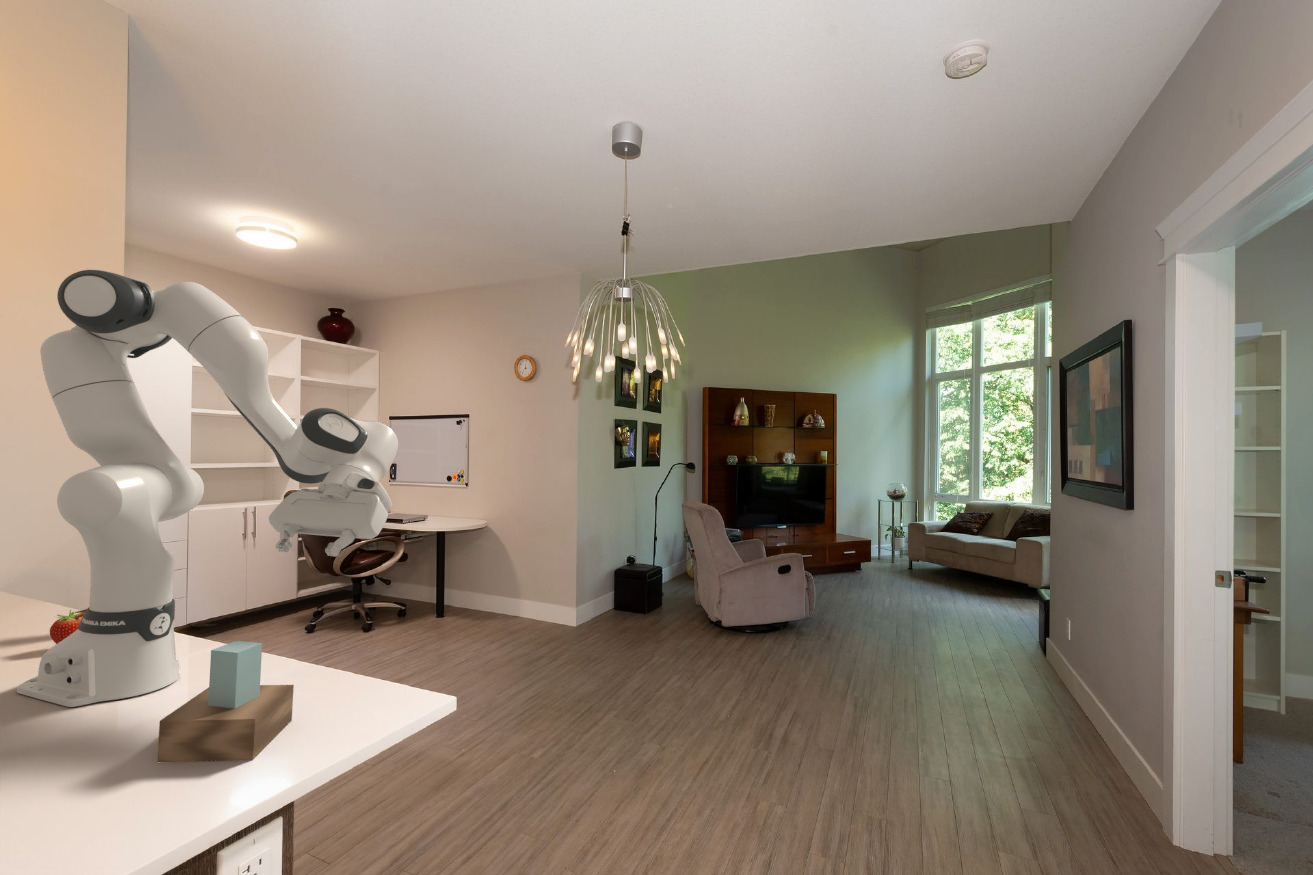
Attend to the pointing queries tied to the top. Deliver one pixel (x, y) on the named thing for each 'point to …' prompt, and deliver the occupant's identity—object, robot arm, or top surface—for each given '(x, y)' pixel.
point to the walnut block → (224, 727)
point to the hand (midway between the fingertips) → (305, 552)
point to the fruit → (64, 627)
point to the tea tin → (235, 674)
